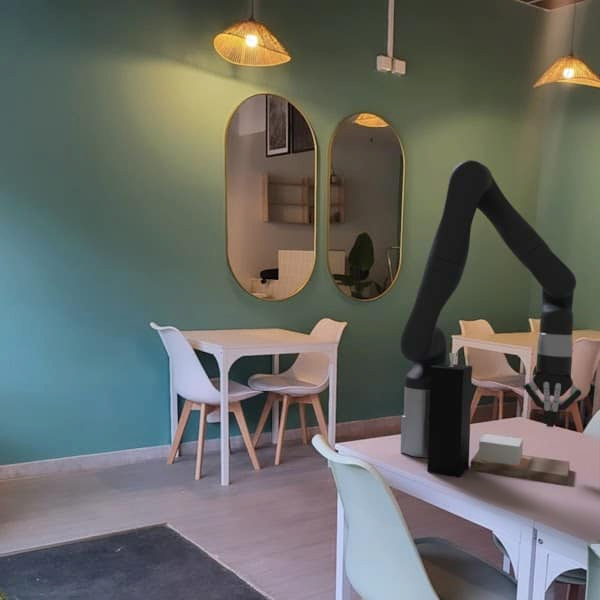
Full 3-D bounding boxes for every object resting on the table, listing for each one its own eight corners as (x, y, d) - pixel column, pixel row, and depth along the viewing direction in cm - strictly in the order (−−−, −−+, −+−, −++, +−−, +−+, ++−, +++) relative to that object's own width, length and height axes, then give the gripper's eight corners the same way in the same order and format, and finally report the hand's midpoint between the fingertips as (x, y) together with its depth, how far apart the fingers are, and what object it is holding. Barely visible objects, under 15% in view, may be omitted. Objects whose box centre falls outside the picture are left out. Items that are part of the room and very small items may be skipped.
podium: (470, 469, 141) (470, 461, 141) (479, 456, 152) (479, 448, 152) (567, 484, 132) (567, 475, 132) (569, 469, 143) (569, 461, 143)
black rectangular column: (469, 469, 142) (472, 352, 141) (460, 478, 135) (464, 355, 134) (437, 463, 146) (440, 349, 145) (426, 471, 139) (430, 352, 138)
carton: (478, 459, 142) (479, 441, 142) (484, 451, 150) (484, 434, 149) (518, 465, 138) (519, 446, 138) (522, 457, 146) (522, 438, 145)
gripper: (522, 351, 138) (518, 425, 139) (585, 357, 132) (581, 434, 133) (525, 348, 145) (521, 419, 146) (586, 353, 139) (581, 427, 140)
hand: (550, 426), depth 139 cm, fingers closed
